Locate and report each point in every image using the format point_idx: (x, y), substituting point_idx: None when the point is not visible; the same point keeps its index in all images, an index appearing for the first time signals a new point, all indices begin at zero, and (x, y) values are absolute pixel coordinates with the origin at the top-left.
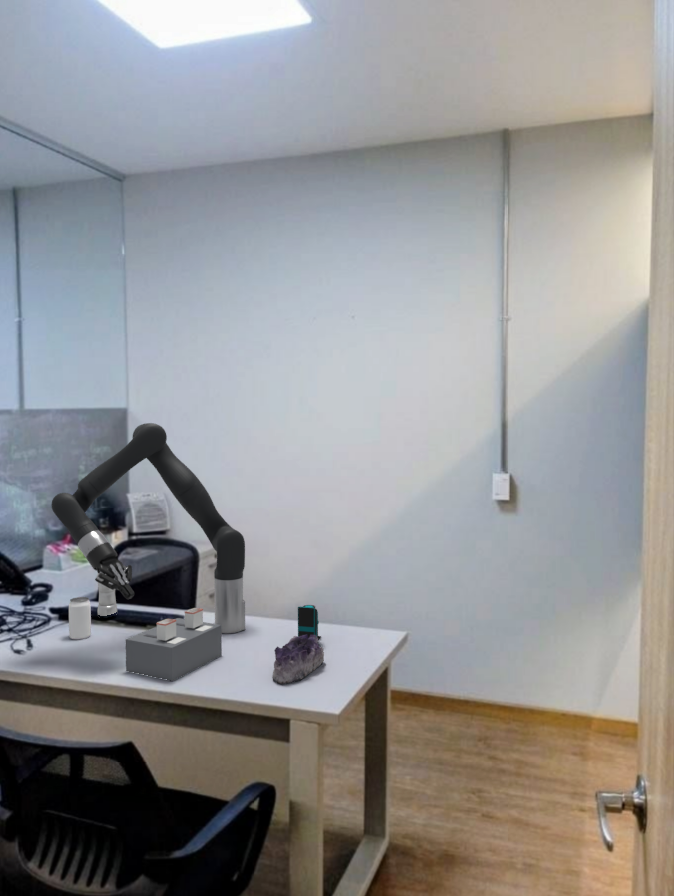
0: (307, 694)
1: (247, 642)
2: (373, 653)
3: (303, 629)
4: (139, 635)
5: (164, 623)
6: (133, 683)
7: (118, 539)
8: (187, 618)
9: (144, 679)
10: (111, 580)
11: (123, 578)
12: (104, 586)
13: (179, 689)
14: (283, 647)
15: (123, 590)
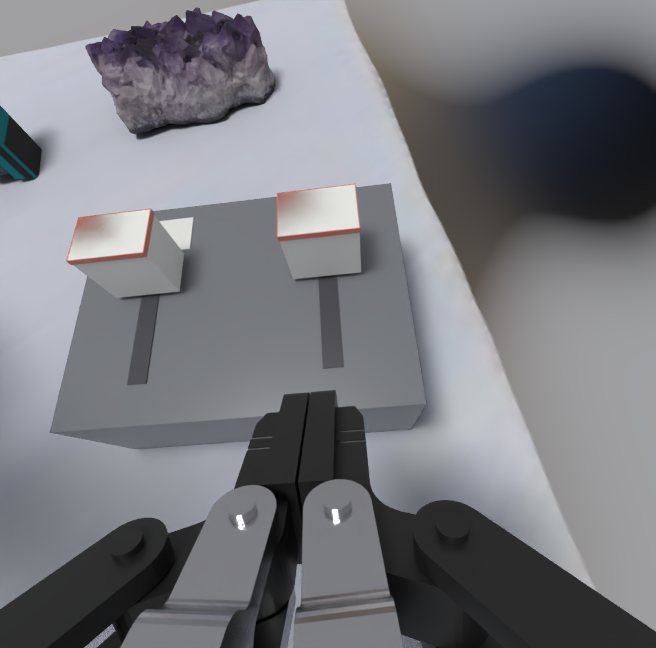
0: (293, 37)
1: (35, 289)
2: (54, 59)
3: (1, 129)
4: (349, 388)
5: (347, 195)
6: (463, 331)
7: None
8: (161, 257)
9: (421, 327)
10: (570, 602)
11: (246, 580)
12: None
13: (414, 208)
14: (190, 51)
15: (367, 462)
